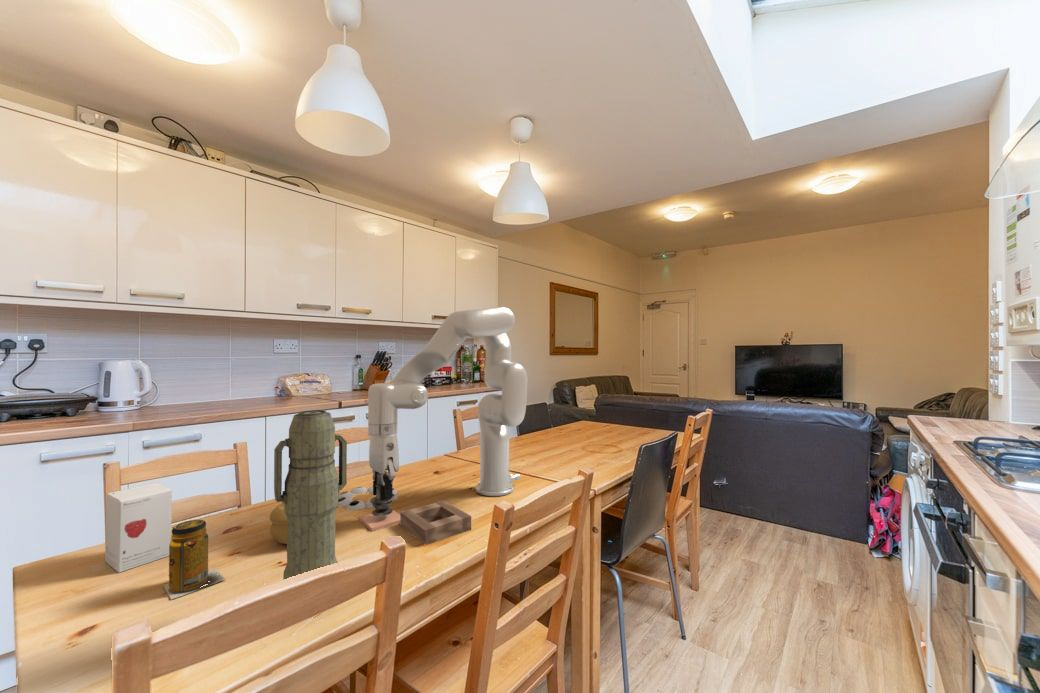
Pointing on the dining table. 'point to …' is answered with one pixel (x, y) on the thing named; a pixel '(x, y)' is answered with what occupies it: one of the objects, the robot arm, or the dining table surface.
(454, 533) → the brown square wooden frame
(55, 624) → the dining table surface
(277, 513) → the pot
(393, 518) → the terracotta tile
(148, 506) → the supplement box
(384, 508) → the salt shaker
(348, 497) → the paint palette
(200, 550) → the condiment
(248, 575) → the dining table surface
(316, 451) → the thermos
